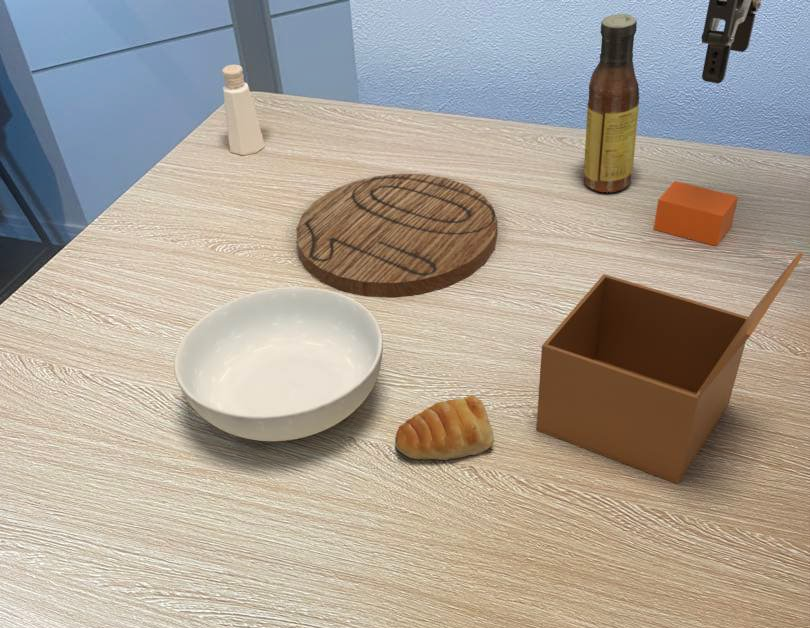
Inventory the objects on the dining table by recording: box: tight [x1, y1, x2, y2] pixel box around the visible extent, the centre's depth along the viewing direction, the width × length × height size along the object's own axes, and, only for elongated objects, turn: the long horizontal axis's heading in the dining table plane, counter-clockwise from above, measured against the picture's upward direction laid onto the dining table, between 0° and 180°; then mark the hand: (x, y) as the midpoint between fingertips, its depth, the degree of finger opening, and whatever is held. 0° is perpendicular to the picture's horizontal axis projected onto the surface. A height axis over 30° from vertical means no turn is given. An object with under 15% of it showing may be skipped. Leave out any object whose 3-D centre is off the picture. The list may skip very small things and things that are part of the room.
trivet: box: [295, 173, 498, 298], centre depth 114 cm, size 25×25×2 cm
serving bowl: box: [173, 286, 384, 442], centre depth 93 cm, size 21×21×7 cm
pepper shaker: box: [221, 64, 266, 156], centre depth 129 cm, size 5×5×11 cm
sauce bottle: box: [583, 13, 640, 194], centre depth 113 cm, size 7×6×20 cm
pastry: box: [394, 394, 495, 461], centre depth 89 cm, size 9×7×4 cm
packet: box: [653, 180, 739, 247], centre depth 111 cm, size 8×5×4 cm, turn 56°
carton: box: [535, 273, 749, 485], centre depth 87 cm, size 15×13×10 cm
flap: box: [699, 251, 804, 393], centre depth 77 cm, size 7×13×1 cm
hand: (724, 64), depth 98 cm, fingers open, 8 cm apart
